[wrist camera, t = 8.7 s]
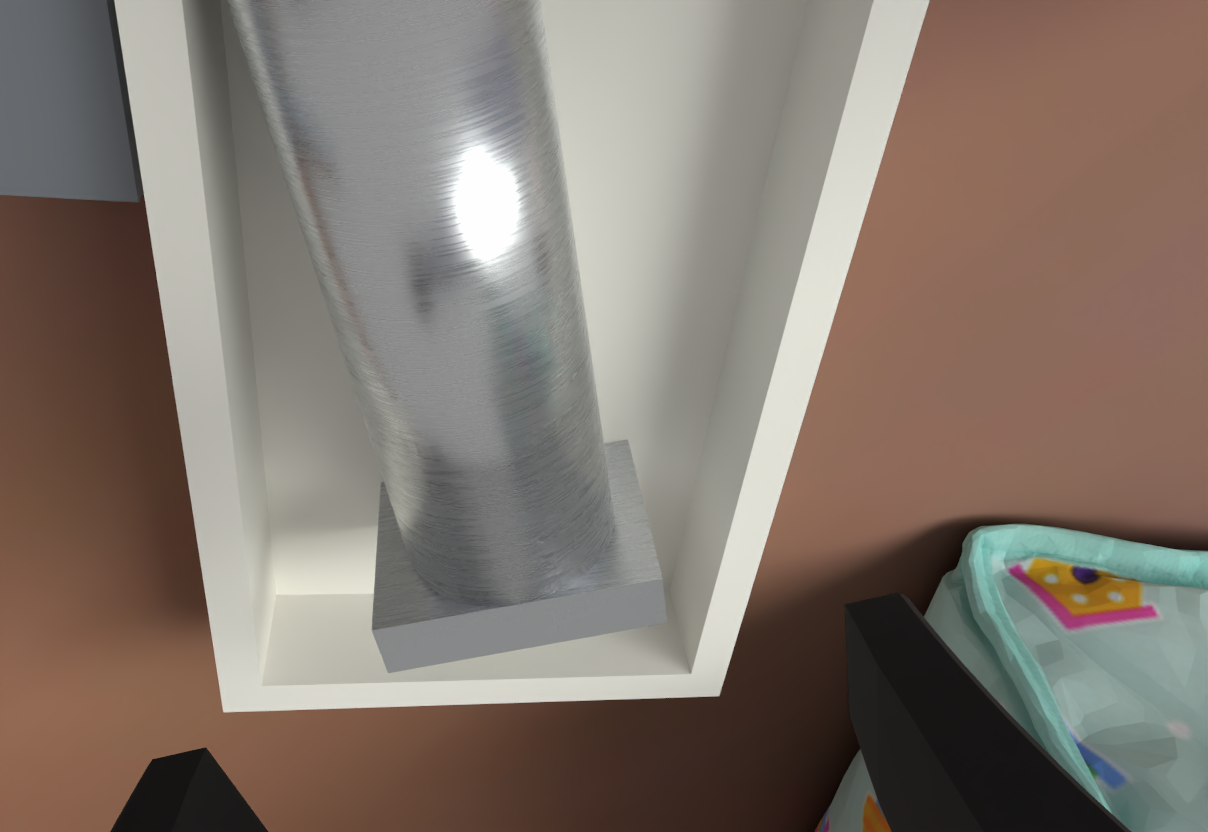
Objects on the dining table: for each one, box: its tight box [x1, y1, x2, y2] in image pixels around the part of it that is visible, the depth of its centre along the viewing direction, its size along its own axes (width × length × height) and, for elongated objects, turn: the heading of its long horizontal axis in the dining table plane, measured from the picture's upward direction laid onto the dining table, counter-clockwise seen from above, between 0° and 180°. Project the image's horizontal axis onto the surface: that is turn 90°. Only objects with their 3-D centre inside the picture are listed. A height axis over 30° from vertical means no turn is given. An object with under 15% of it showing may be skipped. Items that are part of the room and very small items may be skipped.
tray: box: [114, 0, 929, 712], centre depth 17 cm, size 11×20×3 cm, turn 173°
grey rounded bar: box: [226, 0, 667, 673], centre depth 16 cm, size 13×5×4 cm, turn 6°
